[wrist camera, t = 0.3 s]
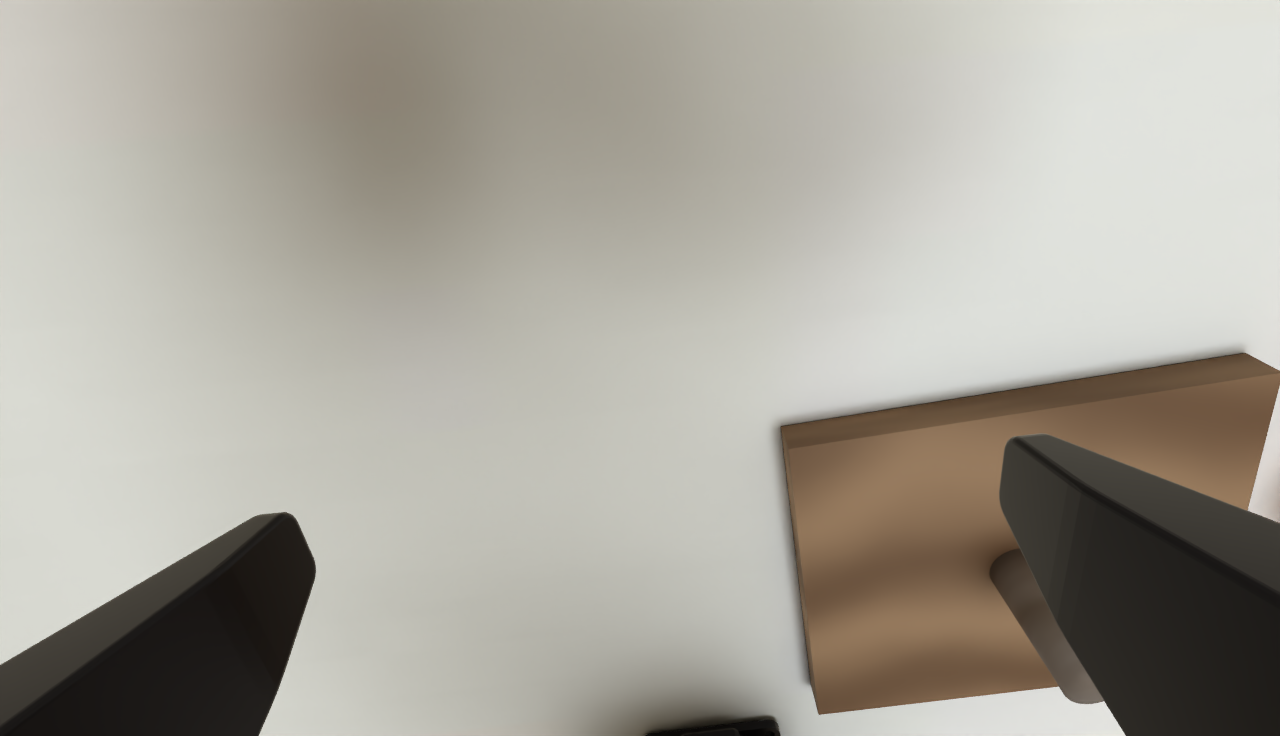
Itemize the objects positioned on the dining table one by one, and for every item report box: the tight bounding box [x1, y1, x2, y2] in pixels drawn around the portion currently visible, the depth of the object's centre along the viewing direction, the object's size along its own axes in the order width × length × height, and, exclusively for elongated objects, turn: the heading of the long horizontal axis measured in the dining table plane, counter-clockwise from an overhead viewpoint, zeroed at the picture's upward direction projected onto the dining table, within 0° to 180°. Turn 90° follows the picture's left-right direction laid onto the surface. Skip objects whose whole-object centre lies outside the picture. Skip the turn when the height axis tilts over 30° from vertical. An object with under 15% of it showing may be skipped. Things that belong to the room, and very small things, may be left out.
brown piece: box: [781, 353, 1280, 715], centre depth 24 cm, size 14×16×6 cm
